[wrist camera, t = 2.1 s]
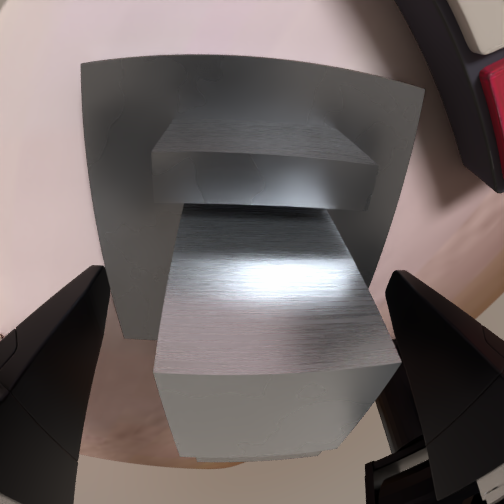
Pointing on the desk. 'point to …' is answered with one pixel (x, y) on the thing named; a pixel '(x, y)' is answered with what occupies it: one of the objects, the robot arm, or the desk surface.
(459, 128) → the button control pad
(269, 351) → the column
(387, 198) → the stand base
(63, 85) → the desk surface
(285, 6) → the desk surface
